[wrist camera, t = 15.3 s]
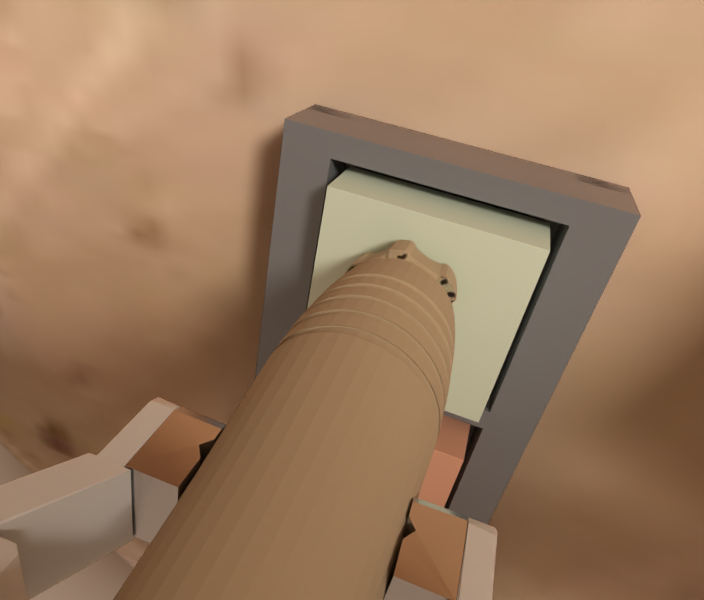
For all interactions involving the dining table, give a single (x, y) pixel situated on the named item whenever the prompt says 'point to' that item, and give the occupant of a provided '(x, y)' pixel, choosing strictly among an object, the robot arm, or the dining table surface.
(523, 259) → the key sage
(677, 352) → the dining table surface
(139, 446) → the robot arm
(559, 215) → the keypad
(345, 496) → the handle
